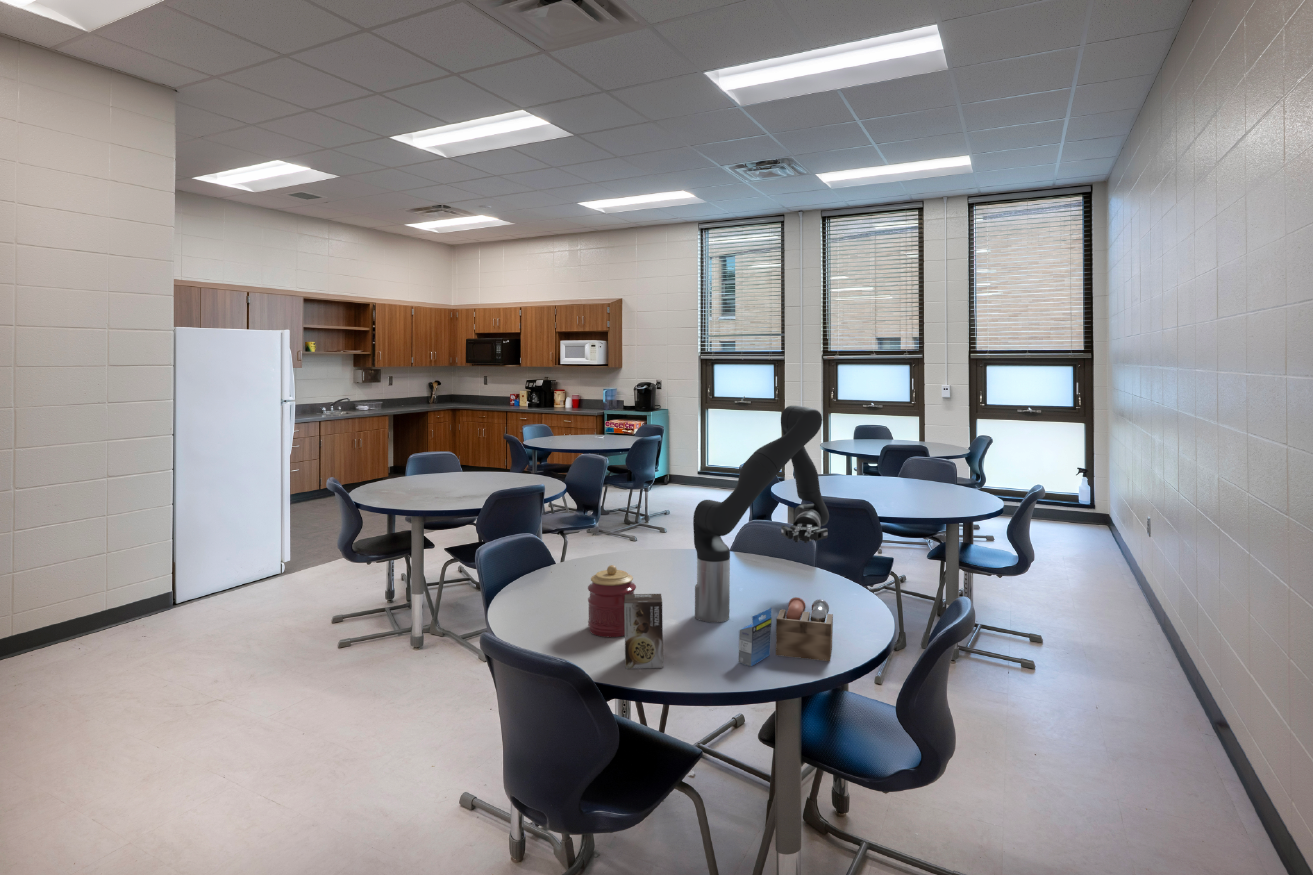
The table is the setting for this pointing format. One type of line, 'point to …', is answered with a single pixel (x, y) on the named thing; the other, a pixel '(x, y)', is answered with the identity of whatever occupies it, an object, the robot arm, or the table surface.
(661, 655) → the coffee box
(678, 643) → the table surface
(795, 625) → the wooden plug holder
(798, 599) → the brick plug
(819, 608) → the steel plug
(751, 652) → the label tape box
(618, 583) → the canister
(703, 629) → the table surface
